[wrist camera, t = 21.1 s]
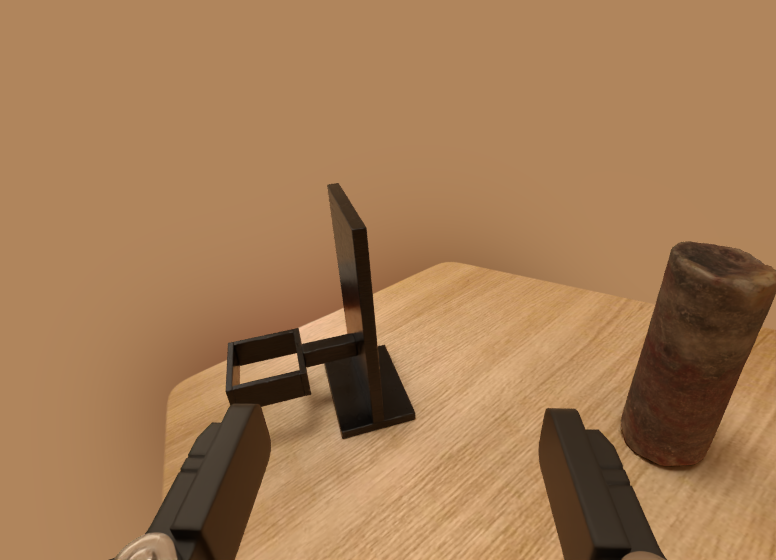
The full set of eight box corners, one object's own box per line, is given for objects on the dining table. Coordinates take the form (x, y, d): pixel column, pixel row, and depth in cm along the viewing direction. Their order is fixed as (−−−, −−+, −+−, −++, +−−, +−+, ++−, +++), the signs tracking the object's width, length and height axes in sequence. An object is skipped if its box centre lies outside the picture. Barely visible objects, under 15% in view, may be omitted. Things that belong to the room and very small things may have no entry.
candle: (618, 399, 47) (668, 231, 37) (698, 419, 44) (776, 242, 34) (618, 456, 41) (677, 274, 31) (710, 482, 39) (808, 292, 28)
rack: (245, 465, 43) (171, 261, 31) (244, 383, 53) (189, 204, 41) (415, 419, 47) (407, 220, 35) (385, 350, 57) (371, 177, 45)
